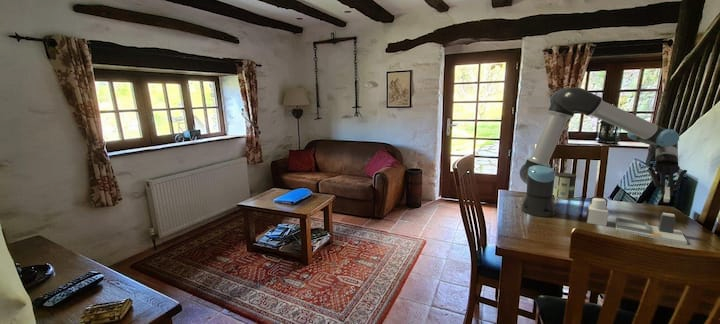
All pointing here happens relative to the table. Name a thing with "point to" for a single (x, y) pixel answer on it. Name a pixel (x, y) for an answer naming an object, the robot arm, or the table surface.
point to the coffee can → (564, 186)
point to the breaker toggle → (667, 222)
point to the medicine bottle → (597, 211)
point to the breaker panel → (647, 230)
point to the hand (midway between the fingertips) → (666, 200)
